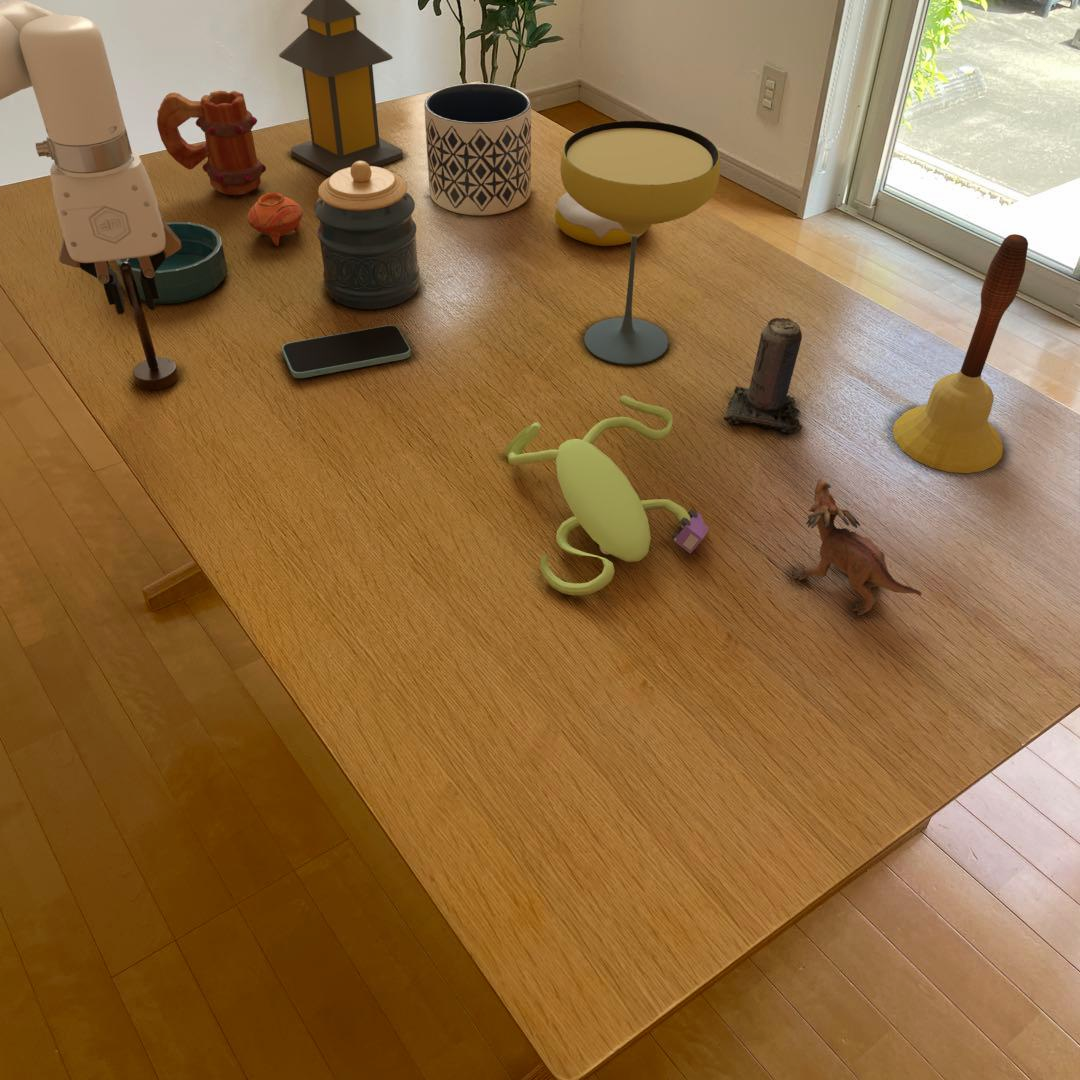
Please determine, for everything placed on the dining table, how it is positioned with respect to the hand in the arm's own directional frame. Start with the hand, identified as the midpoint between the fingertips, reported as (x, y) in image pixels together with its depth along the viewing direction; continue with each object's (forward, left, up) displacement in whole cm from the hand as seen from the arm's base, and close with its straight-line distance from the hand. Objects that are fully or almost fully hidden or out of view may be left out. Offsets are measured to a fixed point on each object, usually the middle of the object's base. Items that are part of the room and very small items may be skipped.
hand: (136, 305), depth 121 cm
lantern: (+32, +59, -10) cm, 68 cm away
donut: (+65, +23, -10) cm, 70 cm away
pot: (+18, +33, -10) cm, 39 cm away
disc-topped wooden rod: (0, 0, -10) cm, 10 cm away
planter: (+50, +39, -10) cm, 64 cm away
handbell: (+87, -36, -10) cm, 95 cm away
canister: (+29, +15, -10) cm, 34 cm away
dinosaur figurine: (+64, -54, -10) cm, 84 cm away
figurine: (+45, -36, -10) cm, 59 cm away
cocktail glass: (+58, -7, -10) cm, 59 cm away
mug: (+11, +51, -10) cm, 53 cm away
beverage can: (+68, -26, -10) cm, 74 cm away
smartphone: (+23, -1, -10) cm, 25 cm away
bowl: (+3, +24, -10) cm, 26 cm away
